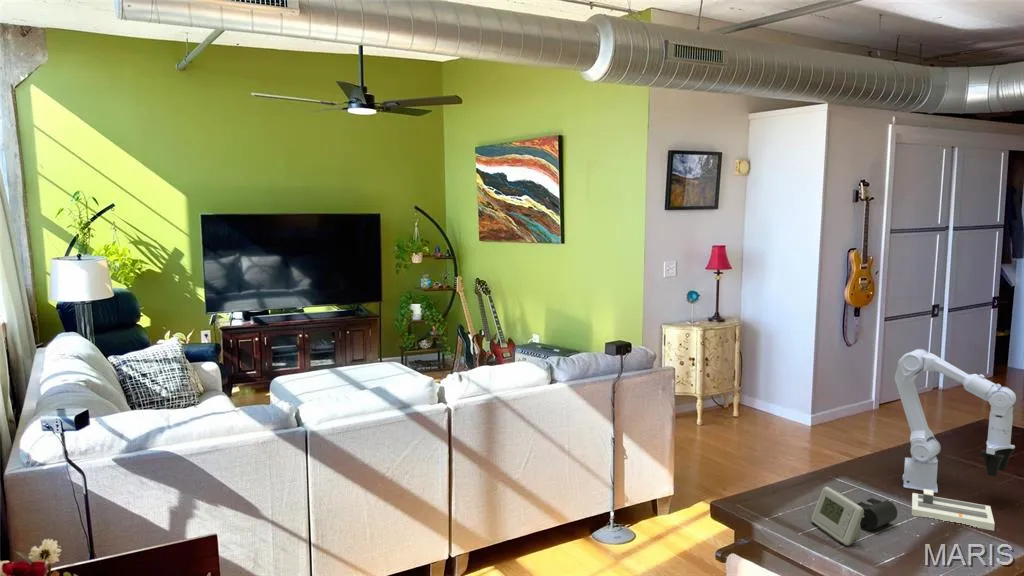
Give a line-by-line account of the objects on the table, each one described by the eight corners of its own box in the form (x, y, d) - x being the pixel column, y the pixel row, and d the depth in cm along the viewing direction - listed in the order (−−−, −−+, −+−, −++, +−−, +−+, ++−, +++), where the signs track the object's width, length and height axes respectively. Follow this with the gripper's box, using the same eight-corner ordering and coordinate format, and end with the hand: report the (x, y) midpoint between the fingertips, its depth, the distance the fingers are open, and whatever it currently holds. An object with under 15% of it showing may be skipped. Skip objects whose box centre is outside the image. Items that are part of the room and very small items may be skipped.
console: (911, 515, 209) (912, 505, 209) (912, 499, 221) (912, 489, 221) (994, 530, 200) (994, 520, 199) (989, 512, 212) (990, 502, 211)
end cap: (877, 535, 197) (878, 511, 196) (852, 525, 203) (854, 502, 202) (897, 526, 202) (898, 503, 201) (872, 517, 208) (874, 495, 207)
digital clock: (809, 521, 205) (810, 485, 204) (840, 521, 205) (842, 485, 204) (833, 547, 189) (835, 508, 188) (868, 547, 189) (870, 508, 188)
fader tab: (923, 504, 212) (923, 493, 212) (922, 499, 216) (923, 488, 215) (932, 505, 211) (933, 495, 210) (932, 500, 214) (933, 490, 214)
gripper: (1007, 436, 207) (1003, 482, 209) (1023, 427, 217) (1019, 470, 218) (979, 430, 213) (976, 475, 214) (996, 421, 222) (992, 464, 224)
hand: (996, 472), depth 217 cm, fingers open, 7 cm apart
